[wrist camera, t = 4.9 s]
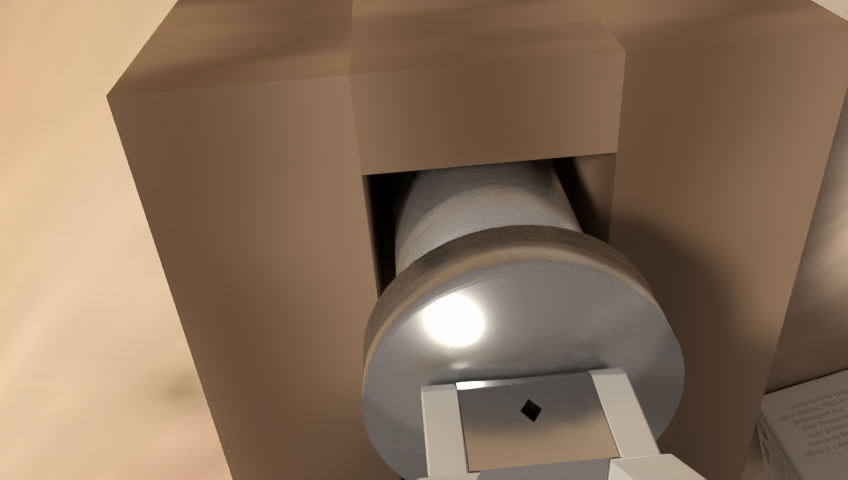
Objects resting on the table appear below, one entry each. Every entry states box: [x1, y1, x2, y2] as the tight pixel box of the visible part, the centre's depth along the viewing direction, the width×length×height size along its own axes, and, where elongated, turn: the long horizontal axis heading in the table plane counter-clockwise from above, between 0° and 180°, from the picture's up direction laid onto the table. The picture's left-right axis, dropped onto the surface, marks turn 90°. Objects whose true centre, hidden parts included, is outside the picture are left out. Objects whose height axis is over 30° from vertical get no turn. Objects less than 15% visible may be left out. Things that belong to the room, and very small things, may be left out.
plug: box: [362, 158, 685, 480], centre depth 15 cm, size 5×5×9 cm
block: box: [106, 0, 848, 480], centre depth 21 cm, size 12×24×6 cm, turn 4°
